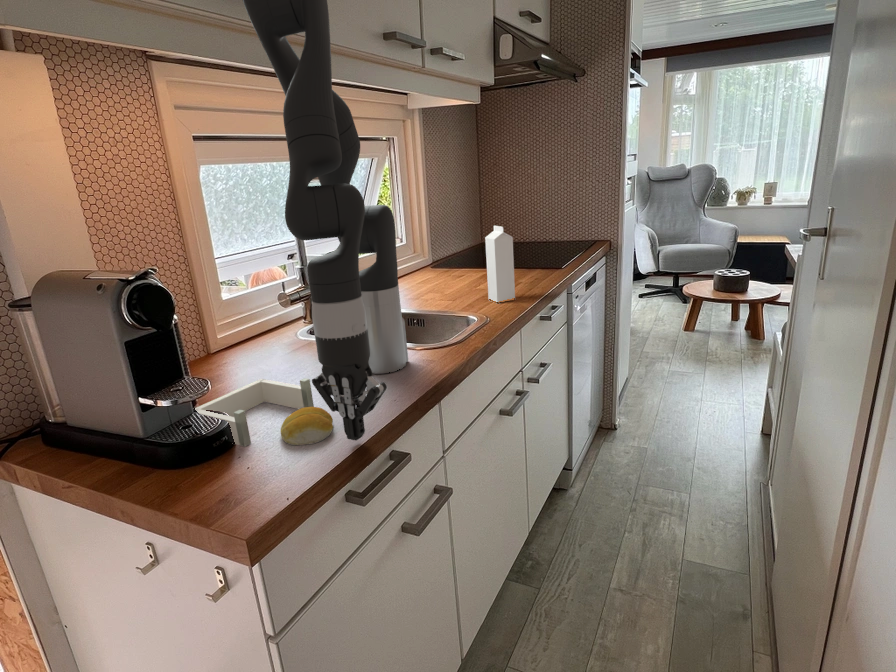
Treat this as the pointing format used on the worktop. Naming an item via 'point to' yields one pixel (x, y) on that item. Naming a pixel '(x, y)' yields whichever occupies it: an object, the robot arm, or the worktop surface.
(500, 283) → the milk
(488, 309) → the worktop surface
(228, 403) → the holder
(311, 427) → the bread roll
